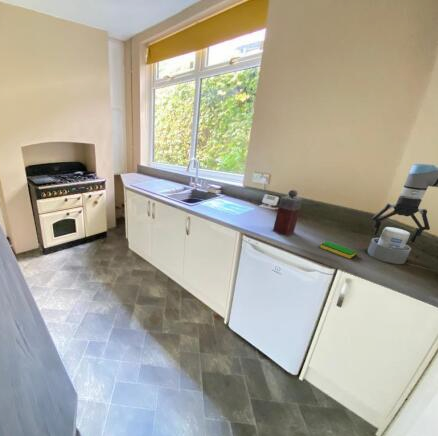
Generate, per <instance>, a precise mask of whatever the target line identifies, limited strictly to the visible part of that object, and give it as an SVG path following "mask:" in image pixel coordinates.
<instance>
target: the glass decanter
mask: <svg viewBox="0 0 438 436" xmlns="http://www.w3.org/2000/svg"><path fill="white" fill-rule="evenodd" d="M303 201H304V199H303V197H299V196H298V191H297V190H296V189H290V190H289V191H288V194H287V195H284V196H280V199H279V203H278V208H277V211H276V216H275V220H274V224H273V229H272V231H273V232H275V233H278V234H281V235H284V236H286V237H287V236H289V235H292V234H294V232H295V229H296V227H297V222H298V219H299V214H300V212H301V207H302V203H303Z"/></svg>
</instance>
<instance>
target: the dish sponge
mask: <svg viewBox="0 0 438 436" xmlns="http://www.w3.org/2000/svg"><path fill="white" fill-rule="evenodd" d="M320 249H323V250H326V251H327V252H331V253H334V254H337V255H338V256H341V257H344V258H347V259H351V258H353V257H355V256H356V254H357V250H353V249H351V248H348V247H345V246H343V245H339V244H337V243H334V242H331V241H328V240H326V241H324V242H322V243H321V244H320Z"/></svg>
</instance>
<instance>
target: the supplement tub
mask: <svg viewBox="0 0 438 436" xmlns="http://www.w3.org/2000/svg"><path fill="white" fill-rule="evenodd" d="M410 235H411V232H410V231H407V230H405V229H401V228H398V227H393V226H386V227H384V229H383V230H382V232H381V234H380V237H379V238H380V239H379V241H378V243H377V244H379V245H382V246H385V247H388V248H392V249H397V250H403V248H404V246H405V244H406V245H407V243H408V241H409V238H410Z"/></svg>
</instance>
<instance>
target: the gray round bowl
mask: <svg viewBox="0 0 438 436" xmlns="http://www.w3.org/2000/svg"><path fill="white" fill-rule="evenodd" d="M379 239H380V237H373V238H371V240H370V243H369V245H368V248H367V254H368V255H369V256H370V257H372V258H374V259H375V260H379V261H381V262H385V263H389V264H395V265H403V264H405V263H406V262H407V260H408V258H409V255H410V253H411V251H412V248H411V246H409V245H408V244H407V243H406V244H405V246H404V248H403V250H397V249H392V248H388V247H385V246H382V245H379V244H377V243H378V241H379Z"/></svg>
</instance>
